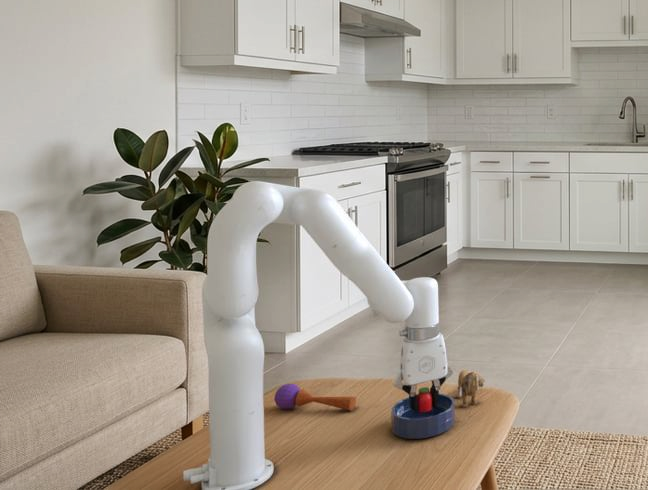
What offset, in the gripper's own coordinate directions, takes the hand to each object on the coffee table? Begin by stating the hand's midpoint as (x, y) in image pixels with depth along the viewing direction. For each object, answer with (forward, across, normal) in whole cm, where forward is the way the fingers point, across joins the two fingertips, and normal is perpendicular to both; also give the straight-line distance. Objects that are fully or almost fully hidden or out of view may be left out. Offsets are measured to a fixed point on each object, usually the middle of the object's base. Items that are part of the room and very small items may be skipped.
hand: (424, 407), depth 157 cm
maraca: (+5, -20, +25) cm, 33 cm away
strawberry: (0, 0, 0) cm, 0 cm away
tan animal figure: (+5, +14, +8) cm, 17 cm away
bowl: (+4, 0, 0) cm, 4 cm away
